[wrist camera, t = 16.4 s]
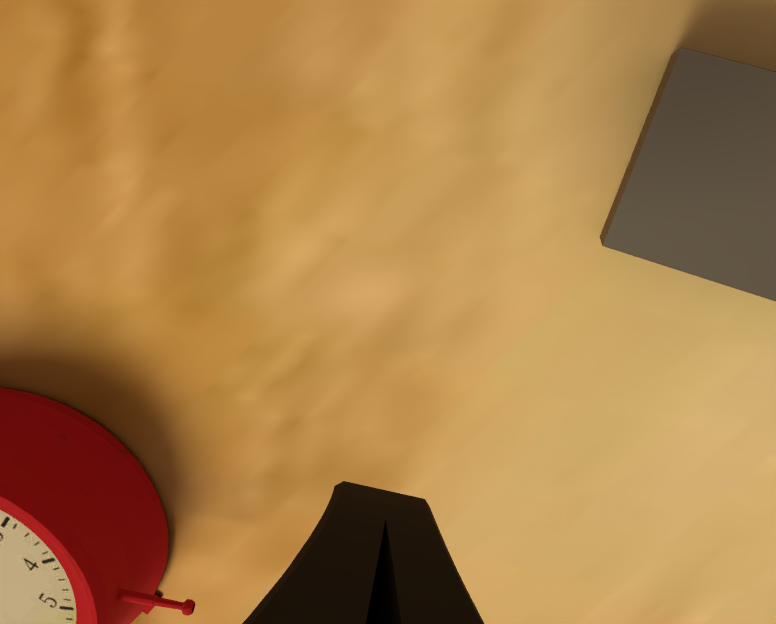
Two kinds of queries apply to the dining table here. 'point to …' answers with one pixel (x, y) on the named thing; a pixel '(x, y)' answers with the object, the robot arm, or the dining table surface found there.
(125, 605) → the alarm clock
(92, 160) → the dining table surface
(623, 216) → the domino
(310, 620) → the robot arm
